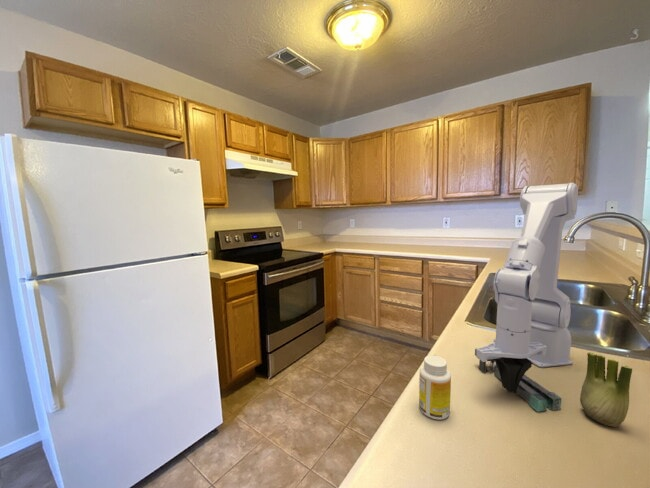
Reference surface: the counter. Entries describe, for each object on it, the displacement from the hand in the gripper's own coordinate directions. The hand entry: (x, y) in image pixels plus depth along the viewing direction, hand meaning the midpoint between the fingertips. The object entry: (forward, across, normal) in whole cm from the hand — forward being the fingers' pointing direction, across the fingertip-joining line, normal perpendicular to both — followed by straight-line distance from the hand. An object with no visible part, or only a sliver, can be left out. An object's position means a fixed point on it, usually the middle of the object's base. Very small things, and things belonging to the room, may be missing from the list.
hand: (509, 389), depth 58 cm
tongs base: (+1, -4, -2) cm, 5 cm away
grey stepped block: (+1, -4, -8) cm, 9 cm away
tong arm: (+1, -2, 0) cm, 2 cm away
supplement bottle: (+1, +18, +2) cm, 18 cm away
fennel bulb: (+1, -10, +9) cm, 14 cm away
